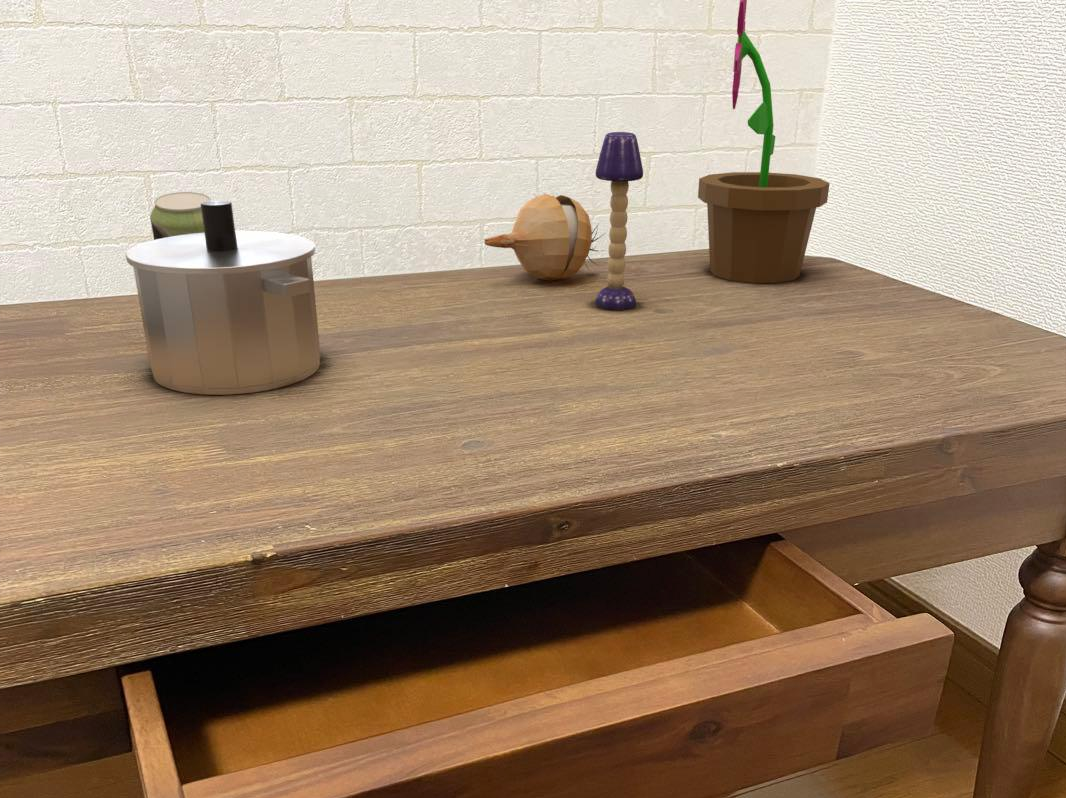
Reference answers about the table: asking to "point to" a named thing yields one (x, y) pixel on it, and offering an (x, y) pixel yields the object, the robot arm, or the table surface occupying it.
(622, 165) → the toy lamp
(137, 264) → the pot lid
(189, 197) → the beverage can
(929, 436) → the table surface
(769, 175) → the flowerpot
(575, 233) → the yellow onion
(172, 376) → the pot
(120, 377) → the table surface
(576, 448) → the table surface
